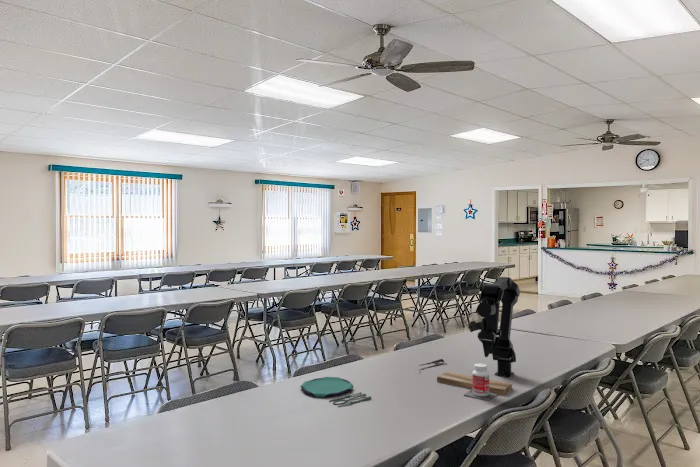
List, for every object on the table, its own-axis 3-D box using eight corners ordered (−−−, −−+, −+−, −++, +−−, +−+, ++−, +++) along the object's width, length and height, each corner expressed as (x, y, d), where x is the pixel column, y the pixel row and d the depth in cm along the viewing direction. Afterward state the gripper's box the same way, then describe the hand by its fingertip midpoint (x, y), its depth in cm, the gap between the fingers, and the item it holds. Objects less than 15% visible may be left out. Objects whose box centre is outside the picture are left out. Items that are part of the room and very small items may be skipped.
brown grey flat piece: (447, 376, 207) (447, 371, 207) (512, 388, 190) (512, 383, 190) (426, 387, 193) (426, 382, 193) (494, 402, 176) (494, 396, 176)
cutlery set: (335, 378, 207) (335, 373, 207) (376, 400, 182) (376, 394, 182) (293, 388, 196) (293, 382, 196) (331, 412, 171) (330, 406, 171)
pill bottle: (487, 398, 179) (486, 368, 179) (470, 395, 182) (470, 366, 182) (491, 392, 184) (490, 363, 184) (475, 390, 187) (474, 362, 187)
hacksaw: (441, 361, 232) (441, 358, 232) (456, 366, 223) (456, 363, 223) (401, 369, 220) (401, 366, 220) (416, 375, 211) (415, 372, 211)
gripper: (475, 312, 205) (472, 349, 205) (466, 314, 189) (462, 355, 188) (502, 315, 201) (499, 353, 200) (495, 318, 184) (492, 360, 183)
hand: (488, 355), depth 193 cm, fingers open, 9 cm apart
